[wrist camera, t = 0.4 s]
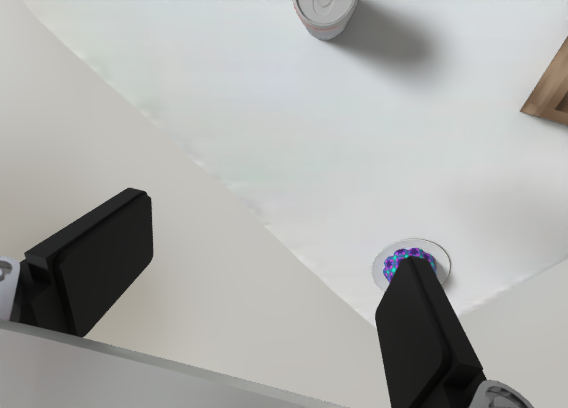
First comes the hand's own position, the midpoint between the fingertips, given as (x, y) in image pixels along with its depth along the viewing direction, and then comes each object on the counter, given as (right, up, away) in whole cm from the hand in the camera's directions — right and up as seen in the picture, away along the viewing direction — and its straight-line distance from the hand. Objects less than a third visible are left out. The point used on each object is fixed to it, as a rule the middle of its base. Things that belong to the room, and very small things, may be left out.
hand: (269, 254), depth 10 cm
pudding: (+21, -8, +36) cm, 42 cm away
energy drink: (+5, +24, +22) cm, 33 cm away
